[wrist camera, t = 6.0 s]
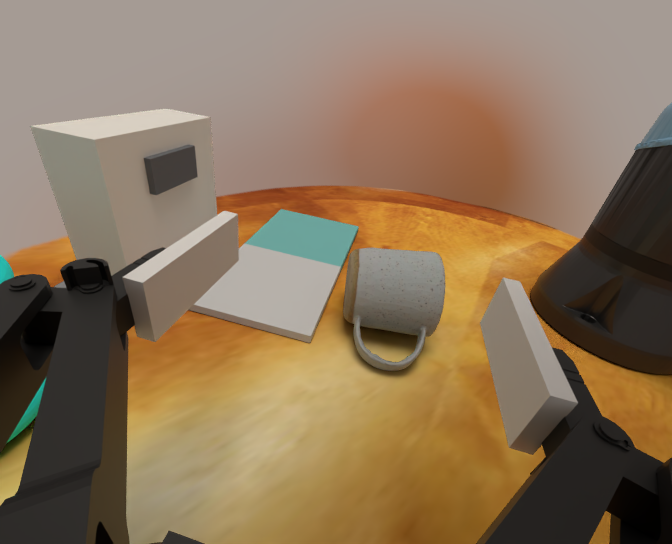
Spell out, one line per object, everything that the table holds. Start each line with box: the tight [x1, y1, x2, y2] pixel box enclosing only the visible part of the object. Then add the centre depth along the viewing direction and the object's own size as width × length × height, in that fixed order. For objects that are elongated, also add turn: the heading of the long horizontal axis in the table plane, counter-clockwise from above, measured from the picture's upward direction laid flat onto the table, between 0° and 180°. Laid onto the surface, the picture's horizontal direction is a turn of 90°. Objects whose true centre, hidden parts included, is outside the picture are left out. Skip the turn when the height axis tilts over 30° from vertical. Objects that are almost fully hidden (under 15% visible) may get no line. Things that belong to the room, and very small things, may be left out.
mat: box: [188, 209, 358, 343], centre depth 38 cm, size 12×24×1 cm, turn 167°
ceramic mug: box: [343, 248, 445, 371], centre depth 29 cm, size 11×8×8 cm
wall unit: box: [31, 109, 217, 288], centre depth 31 cm, size 8×17×14 cm, turn 167°
